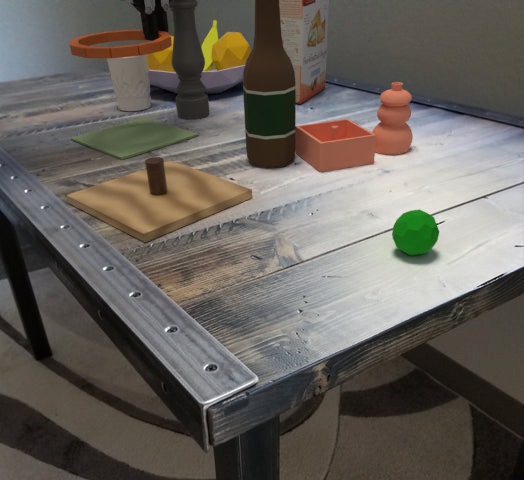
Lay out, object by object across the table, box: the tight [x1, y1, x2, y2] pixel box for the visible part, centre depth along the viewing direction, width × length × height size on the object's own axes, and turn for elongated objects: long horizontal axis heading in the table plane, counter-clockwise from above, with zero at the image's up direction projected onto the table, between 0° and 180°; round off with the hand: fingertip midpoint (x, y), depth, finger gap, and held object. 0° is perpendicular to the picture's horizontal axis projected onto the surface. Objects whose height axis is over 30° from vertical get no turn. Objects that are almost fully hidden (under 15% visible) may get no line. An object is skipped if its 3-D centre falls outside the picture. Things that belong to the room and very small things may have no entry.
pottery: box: [295, 81, 414, 173], centre depth 89 cm, size 18×10×10 cm, turn 110°
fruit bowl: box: [147, 19, 252, 95], centre depth 128 cm, size 28×27×11 cm
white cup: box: [106, 54, 152, 112], centre depth 116 cm, size 8×8×10 cm
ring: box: [69, 29, 172, 59], centre depth 93 cm, size 16×16×1 cm
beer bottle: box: [242, 0, 297, 170], centre depth 84 cm, size 8×8×24 cm
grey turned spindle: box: [169, 0, 210, 120], centre depth 105 cm, size 6×6×25 cm
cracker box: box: [279, 0, 330, 105], centre depth 116 cm, size 14×6×21 cm, turn 154°
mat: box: [70, 117, 199, 161], centre depth 102 cm, size 16×16×1 cm
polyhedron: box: [391, 208, 440, 257], centre depth 64 cm, size 5×5×5 cm
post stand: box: [65, 156, 253, 243], centre depth 78 cm, size 18×18×6 cm
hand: (156, 38), depth 98 cm, fingers closed on ring, 1 cm apart
